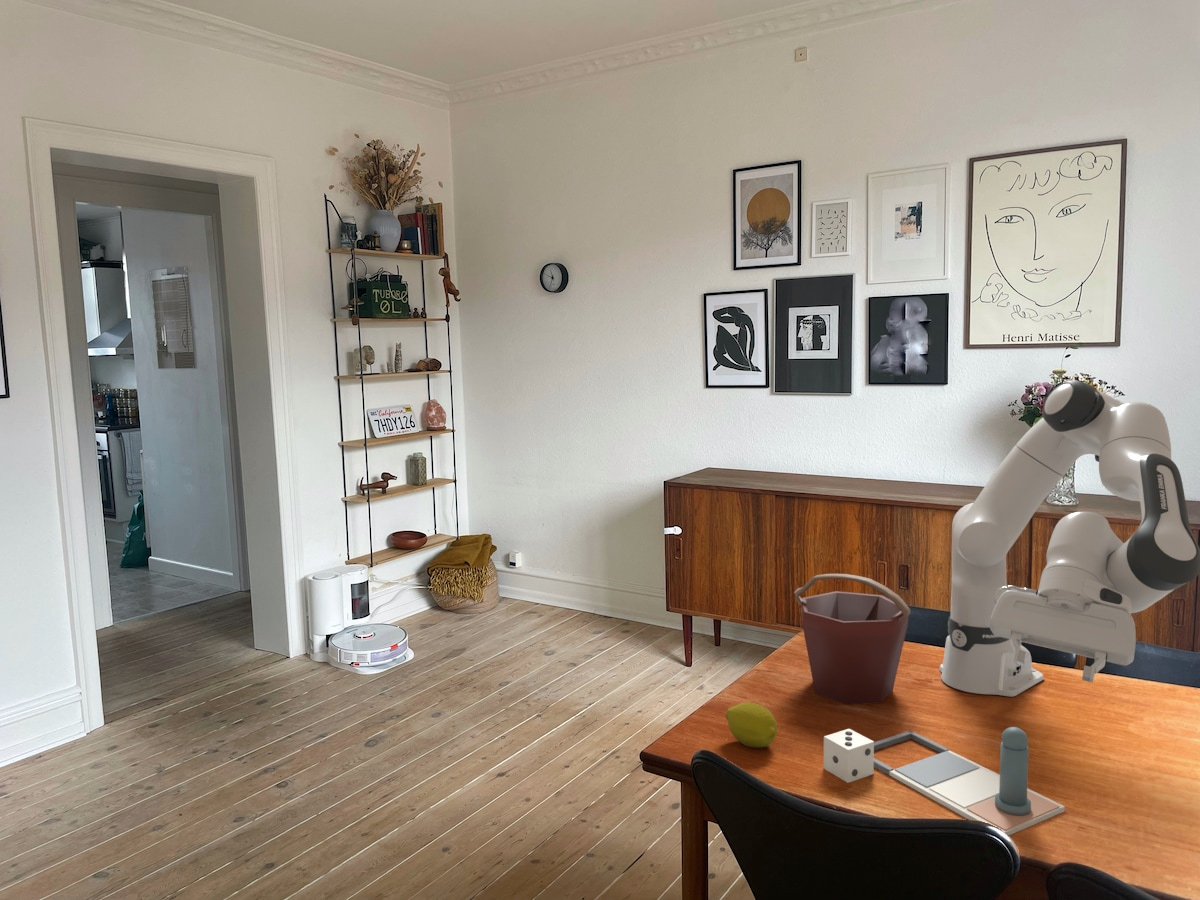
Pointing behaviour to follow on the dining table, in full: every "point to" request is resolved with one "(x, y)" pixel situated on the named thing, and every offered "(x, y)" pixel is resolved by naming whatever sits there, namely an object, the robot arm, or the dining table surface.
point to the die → (848, 755)
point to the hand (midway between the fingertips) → (1052, 671)
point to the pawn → (1013, 773)
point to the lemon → (752, 724)
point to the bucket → (853, 640)
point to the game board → (963, 786)
